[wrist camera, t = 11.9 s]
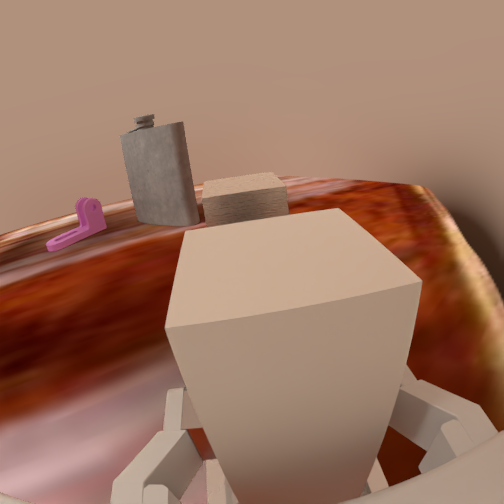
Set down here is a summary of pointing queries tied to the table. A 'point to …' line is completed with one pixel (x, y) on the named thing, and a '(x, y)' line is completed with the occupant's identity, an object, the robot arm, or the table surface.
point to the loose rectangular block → (292, 350)
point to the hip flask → (160, 173)
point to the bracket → (81, 224)
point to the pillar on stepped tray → (240, 210)
